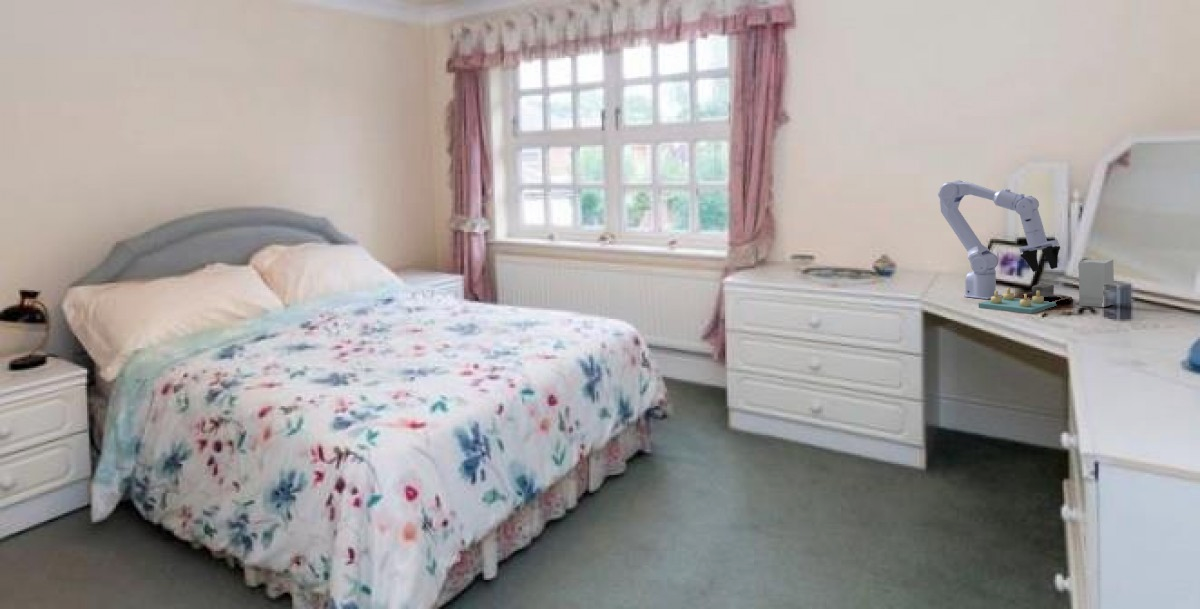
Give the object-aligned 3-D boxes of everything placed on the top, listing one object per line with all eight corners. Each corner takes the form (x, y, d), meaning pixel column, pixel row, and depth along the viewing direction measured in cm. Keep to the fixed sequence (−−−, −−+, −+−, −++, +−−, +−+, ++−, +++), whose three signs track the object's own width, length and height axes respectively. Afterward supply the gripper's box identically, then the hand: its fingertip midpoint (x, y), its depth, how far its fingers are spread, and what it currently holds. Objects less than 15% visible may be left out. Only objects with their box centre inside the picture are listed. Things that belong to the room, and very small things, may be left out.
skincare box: (1114, 305, 238) (1115, 259, 236) (1105, 308, 235) (1107, 262, 232) (1085, 302, 245) (1087, 258, 242) (1077, 305, 242) (1078, 260, 239)
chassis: (978, 307, 252) (978, 291, 251) (1003, 300, 259) (1003, 285, 258) (1031, 313, 236) (1031, 297, 235) (1056, 306, 243) (1056, 290, 242)
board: (1014, 300, 258) (1014, 286, 257) (1030, 295, 263) (1031, 281, 262) (1055, 304, 246) (1055, 289, 245) (1071, 299, 251) (1072, 285, 250)
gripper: (1061, 224, 246) (1072, 264, 246) (1026, 232, 260) (1037, 269, 260) (1044, 229, 244) (1055, 269, 244) (1010, 237, 258) (1021, 274, 258)
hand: (1045, 269), depth 252 cm, fingers open, 7 cm apart
